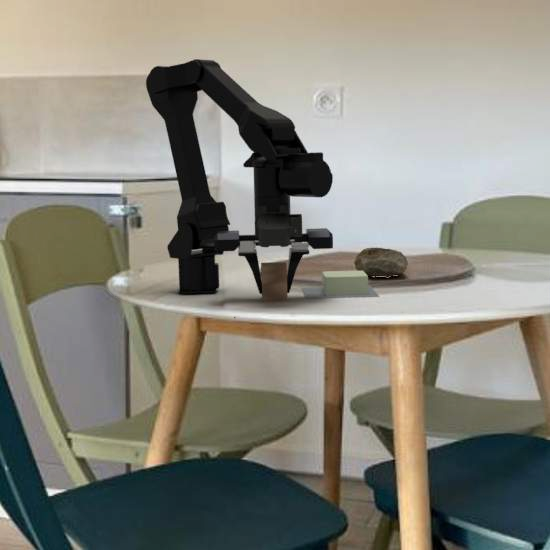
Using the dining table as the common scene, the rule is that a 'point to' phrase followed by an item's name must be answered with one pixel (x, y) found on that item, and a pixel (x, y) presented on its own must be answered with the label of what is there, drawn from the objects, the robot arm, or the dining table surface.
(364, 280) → the base block
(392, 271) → the stone
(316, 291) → the build mat
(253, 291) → the dining table surface
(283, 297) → the walnut block
